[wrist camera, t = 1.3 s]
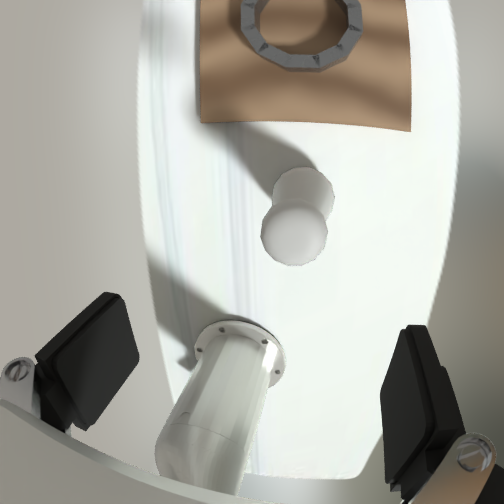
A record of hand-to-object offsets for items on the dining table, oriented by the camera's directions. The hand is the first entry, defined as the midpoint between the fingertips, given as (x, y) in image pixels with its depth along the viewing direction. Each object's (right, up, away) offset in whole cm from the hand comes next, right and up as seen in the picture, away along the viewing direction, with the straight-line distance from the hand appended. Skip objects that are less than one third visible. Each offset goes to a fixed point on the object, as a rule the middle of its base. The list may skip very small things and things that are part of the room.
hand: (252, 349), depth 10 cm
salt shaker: (+5, +9, +21) cm, 23 cm away
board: (+5, +25, +14) cm, 29 cm away
